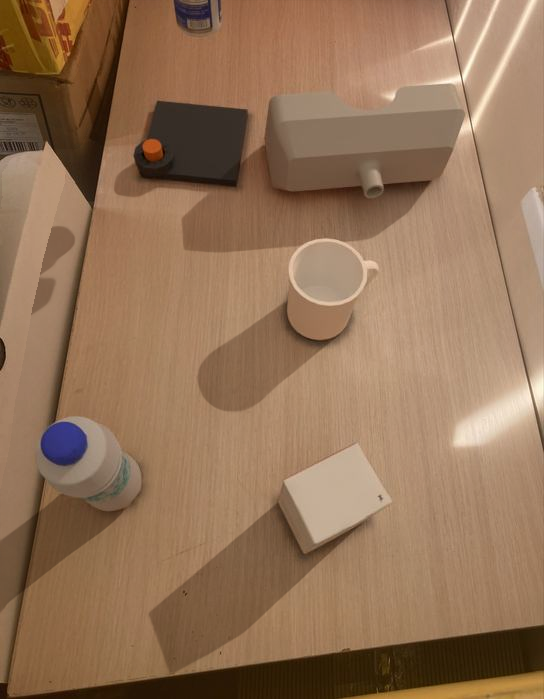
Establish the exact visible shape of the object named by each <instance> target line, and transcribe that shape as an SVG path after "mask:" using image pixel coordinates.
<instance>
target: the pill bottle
mask: <svg viewBox="0 0 544 699" xmlns="http://www.w3.org/2000/svg"><path fill="white" fill-rule="evenodd" d="M173 5H174V6H173V7H174V14H175V20H176V25H177V28H178V29H179V31H181V32H182V33H184V34H185V35H187V36H190V37H192V38H193V37H194V38H204V37H209V36H211V35H213V34H215V33H216V32H218V31H219V29H220V28H221V26H222V22H223V14H222V13H223V12H222V0H173Z"/></svg>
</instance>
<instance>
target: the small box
mask: <svg viewBox="0 0 544 699" xmlns="http://www.w3.org/2000/svg"><path fill="white" fill-rule="evenodd" d="M277 503H278V505H279V507H280V509H281V511H282V513H283V516H284V518H285V519H286V521H287V523H288V525H289V527H290V529H291V532H292V533H293V536H294V537H295V540H296V541H297V543H298V546H299V548H300V549H301V552H302V553H303V554H304V555H306V554H308V553H310V552H313V551H314V550H316V549H318V548H320V547H321V546H323V545H325V544H326V543H327V544H328V542H331V541H332V540H334V539H336V538H337V537H340V536H341V535H344V534H345V533H347V532H348V531H350V530H352V529H354V528H355V527H357V526H359V525H360V524H363V523H364V522H365V521H367V520H368V519H370V518H371V517H372V516H374V515H376V514H377V513H379V512H380V511H382V510H383V509H385V508H388V506H390V505H392V504H393V500H392V498H391V496H390V495H389V494H388V492H387V490H386V488H385V487H384V485H383V483H382V482H381V480H380V479H379V477H378V476H377V474H376V472H375V470H374V468H373V467H372V465H371V464H370V462H369V460H368V458H367V456H366V454H365V453H364V451H363V450H362V448H361V445H360V444H359V443H358V442H354V443H352V444H350V445H348V446H346V447H344V448H343V449H340V450H338V451H336V452H334V453H332V454H331V455H328V456H327V457H324V458H323V459H321V460H319V461H316V462H315V463H313V464H311V465H309V466H307V467H305V468H303V469H302V470H299V471H298V472H296V473H293V474H292V475H290V476H287V477H286V478H284V479H283V480H282V484H281V488H280V492H279V497H278V501H277Z"/></svg>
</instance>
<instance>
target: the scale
mask: <svg viewBox="0 0 544 699" xmlns="http://www.w3.org/2000/svg"><path fill="white" fill-rule="evenodd" d="M248 116H249V112H248V109H246V108H235V107H227V106H216V105H206V104H197V103H188V102H187V103H186V102H175V101H166V100H156V103H155V108H154V111H153V115H152V118H151V123H150V127H149V131H148V135H147V138H146V140H142V141H141V142H140V143H138V145H137V146H135V147H134V152H133V155H132V156H133V159H134V164H135V166H136V168H137V170H138V172H139V176H140V178H143V179H151V180H152V179H153V180H161V181H163V180H164V181H172V182H183V183H193V184H203V185H212V186H213V185H214V186H223V187H233V188H237V186H238V181H239V174H240V169H241V162H242V154H243V149H244V141H245V137H246V129H247V123H248ZM149 139H156V140H158V141H159V142H160V143H161V146H162V151H163V157H162V159H161V160H159V161H157V162H150V161H148V160H147V159H146V158H145V155H144V151H143V147H142V146H143V143H144V142H145V141H147V140H149Z"/></svg>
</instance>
